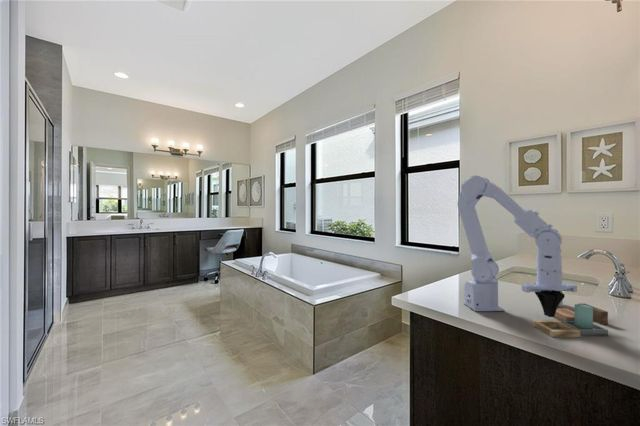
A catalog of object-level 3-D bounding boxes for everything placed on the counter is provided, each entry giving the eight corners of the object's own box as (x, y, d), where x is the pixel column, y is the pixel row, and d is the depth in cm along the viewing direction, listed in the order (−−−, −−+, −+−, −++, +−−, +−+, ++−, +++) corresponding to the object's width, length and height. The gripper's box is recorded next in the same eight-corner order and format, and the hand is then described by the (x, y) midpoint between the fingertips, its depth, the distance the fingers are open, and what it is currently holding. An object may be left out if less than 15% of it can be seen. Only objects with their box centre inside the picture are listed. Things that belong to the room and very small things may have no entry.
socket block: (552, 337, 72) (552, 331, 72) (532, 325, 79) (532, 320, 79) (580, 337, 72) (580, 331, 72) (557, 325, 79) (557, 320, 79)
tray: (580, 336, 72) (580, 330, 72) (560, 326, 78) (560, 321, 78) (608, 335, 72) (608, 330, 72) (586, 326, 78) (586, 320, 78)
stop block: (600, 324, 79) (600, 312, 79) (578, 314, 86) (578, 303, 86) (607, 324, 79) (607, 311, 79) (584, 314, 86) (584, 303, 86)
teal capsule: (582, 331, 73) (582, 308, 73) (570, 325, 77) (570, 304, 77) (596, 331, 73) (596, 308, 73) (584, 326, 77) (584, 304, 77)
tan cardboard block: (567, 325, 79) (567, 317, 79) (549, 316, 86) (549, 308, 86) (586, 326, 79) (586, 317, 79) (566, 316, 86) (566, 308, 86)
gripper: (534, 273, 78) (534, 321, 79) (586, 272, 78) (586, 320, 78) (516, 268, 85) (517, 312, 86) (564, 267, 85) (565, 311, 85)
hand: (549, 315), depth 82 cm, fingers closed
